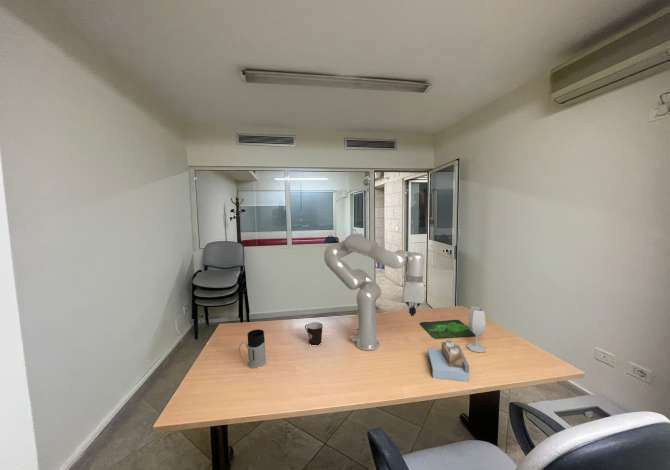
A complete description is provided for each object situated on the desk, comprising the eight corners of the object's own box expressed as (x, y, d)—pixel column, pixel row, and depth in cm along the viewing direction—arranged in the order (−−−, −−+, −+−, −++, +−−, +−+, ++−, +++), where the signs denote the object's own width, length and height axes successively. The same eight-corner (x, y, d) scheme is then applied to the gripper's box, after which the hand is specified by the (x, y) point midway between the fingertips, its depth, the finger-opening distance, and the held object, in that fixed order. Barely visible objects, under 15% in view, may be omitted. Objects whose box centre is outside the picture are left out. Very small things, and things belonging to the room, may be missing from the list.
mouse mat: (433, 340, 145) (433, 338, 145) (417, 323, 167) (417, 321, 167) (480, 336, 148) (480, 335, 148) (458, 320, 170) (458, 319, 169)
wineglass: (488, 353, 130) (490, 312, 128) (469, 352, 131) (470, 311, 129) (482, 345, 138) (483, 306, 136) (464, 343, 140) (465, 305, 138)
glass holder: (270, 360, 127) (269, 331, 126) (247, 377, 115) (245, 344, 114) (257, 356, 132) (256, 327, 130) (234, 371, 120) (232, 339, 118)
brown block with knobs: (449, 367, 113) (449, 352, 112) (441, 352, 125) (441, 339, 124) (462, 367, 112) (463, 353, 112) (453, 352, 124) (453, 339, 123)
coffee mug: (325, 345, 141) (324, 327, 140) (309, 348, 138) (309, 330, 137) (318, 335, 152) (318, 319, 151) (304, 338, 149) (303, 321, 148)
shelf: (433, 378, 112) (433, 362, 111) (427, 356, 128) (428, 342, 128) (468, 382, 109) (469, 366, 108) (458, 359, 125) (459, 345, 125)
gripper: (398, 279, 124) (396, 316, 126) (431, 282, 121) (429, 320, 123) (398, 275, 131) (396, 310, 133) (430, 277, 128) (427, 313, 130)
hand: (412, 314), depth 128 cm, fingers closed
